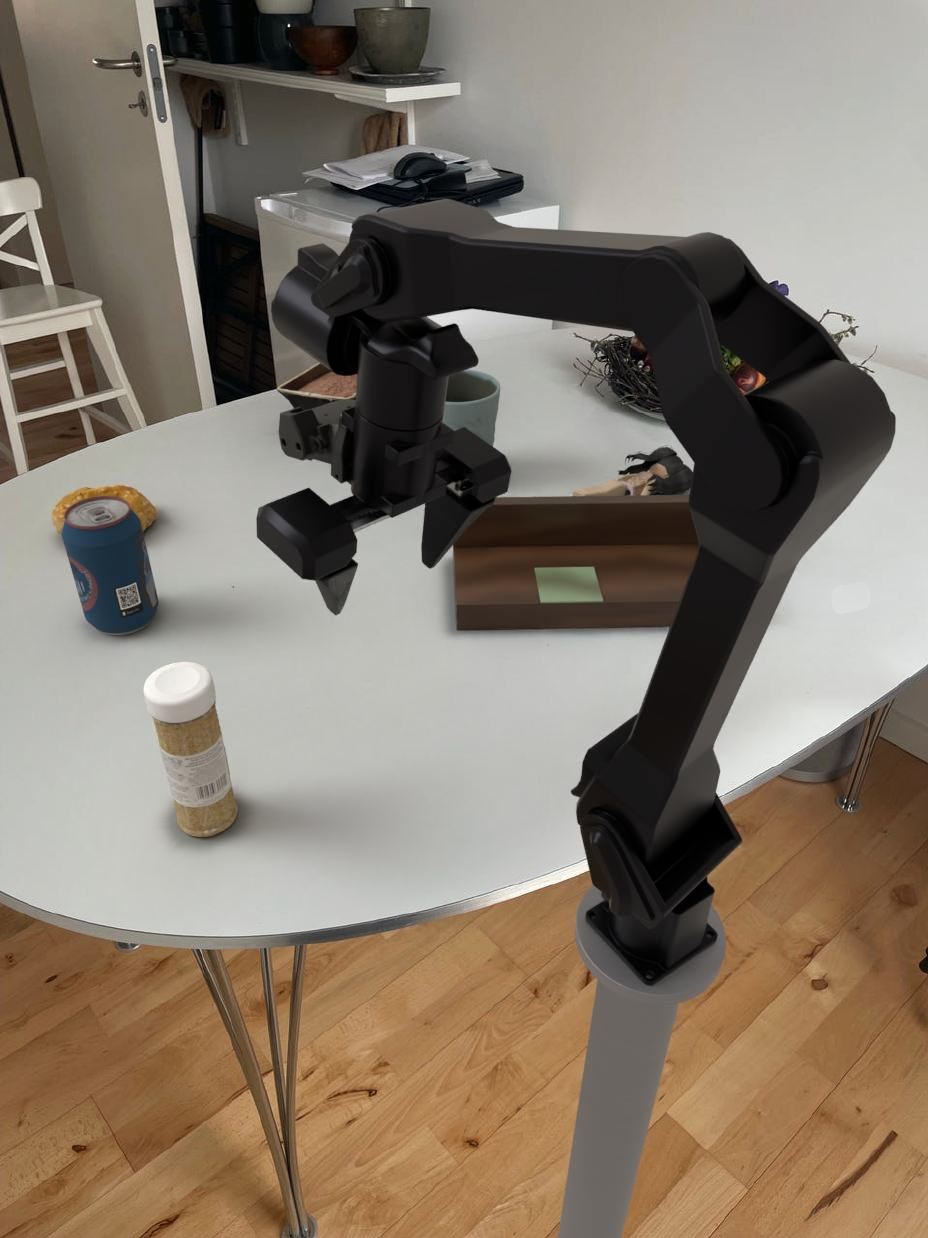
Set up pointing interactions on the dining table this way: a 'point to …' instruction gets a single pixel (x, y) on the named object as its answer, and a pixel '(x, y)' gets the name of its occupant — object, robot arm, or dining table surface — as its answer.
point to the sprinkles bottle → (192, 747)
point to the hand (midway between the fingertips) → (382, 587)
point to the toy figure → (647, 477)
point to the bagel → (130, 494)
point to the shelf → (574, 562)
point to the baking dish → (318, 387)
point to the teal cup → (472, 403)
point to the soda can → (110, 564)
